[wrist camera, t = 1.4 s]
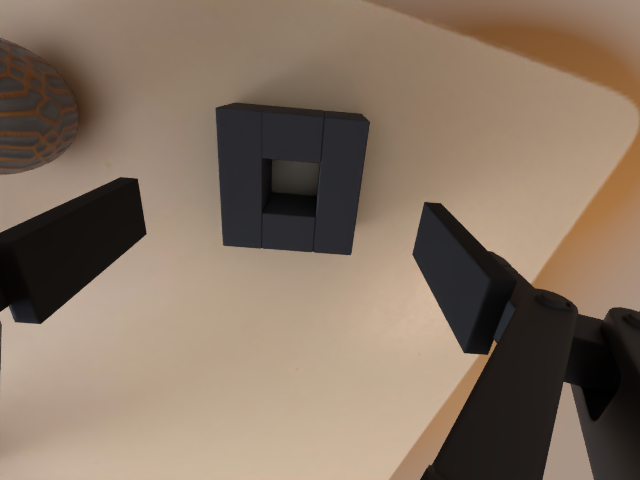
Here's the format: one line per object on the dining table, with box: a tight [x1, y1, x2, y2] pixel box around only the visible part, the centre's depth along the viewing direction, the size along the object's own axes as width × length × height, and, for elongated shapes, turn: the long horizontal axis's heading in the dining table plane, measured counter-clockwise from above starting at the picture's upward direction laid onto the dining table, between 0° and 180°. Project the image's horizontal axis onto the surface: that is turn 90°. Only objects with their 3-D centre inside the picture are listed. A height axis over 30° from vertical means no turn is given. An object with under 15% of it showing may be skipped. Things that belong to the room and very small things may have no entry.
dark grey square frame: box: [216, 103, 370, 255], centre depth 20 cm, size 8×8×4 cm
